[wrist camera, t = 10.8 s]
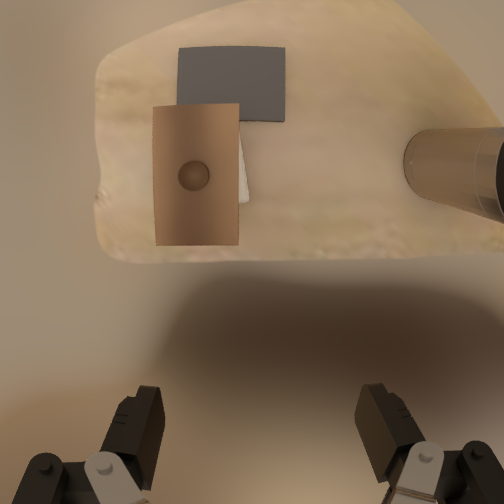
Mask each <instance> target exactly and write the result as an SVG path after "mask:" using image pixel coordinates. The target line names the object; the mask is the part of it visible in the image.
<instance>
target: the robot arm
mask: <svg viewBox="0 0 504 504" xmlns="http://www.w3.org/2000/svg"><path fill="white" fill-rule="evenodd" d="M404 170H405V174H406V178H407V180H408V182H409V184H410V186H411V187H412V189H413V190H414V191H415V192H416V193H417V194H418V195H420V196H421V197H423V198H426V199H429V200H433V201H436V202H439V203H442V204H446V205H449V206H452V207H455V208H458V209H462V210H465V211H468V212H471V213H474V214H477V215H480V216H483V217H486V218H489V219H492V220H494V221H498V222H501V223H503V224H504V127H499V128H462V129H442V130H428V131H423V132H420V133H419V134H417V135H416V136H414V138H413V139H412V140H411V141H410V143H409V144H408V146H407V149H406V152H405V157H404ZM355 423H356V426H357V429H358V431H359V434H360V437H361V439H362V442H363V444H364V447H365V449H366V452H367V455H368V457H369V460H370V462H371V465H372V468H373V470H374V473H375V475H376V478H377V481H378V483H381V482H385V481H388V482H389V485H390V486H389V488H388V490H387V492H386V494H385V497H384V499H383V501H382V503H381V504H436V499H437V502H438V504H504V470H503V468H502V466H501V464H500V463H499V461H498V460H497V458H496V456H495V455H494V453H493V451H492V450H491V448H490V447H489V446H488V445H487V444H485V443H484V442H481V441H471V442H469V443H467V444H466V445H465V446H464V448H463V449H462V450H460V451H443V450H442V449H441V447H440V446H438V445H437V444H435V443H433V442H429V441H426V440H425V438H424V436H423V434H422V433H421V431H420V429H419V427H418V426H417V424H416V422H415V421H414V419H413V417H411V414H410V412H409V410H407V407H406V405H405V404H404V402H403V400H402V399H401V398H399V397H398V396H397V395H396V394H394V393H388V392H387V390H386V388H385V387H384V385H383V384H382V383H372V384H365V385H363V386H362V389H361V392H360V396H359V399H358V403H357V406H356V410H355ZM164 428H165V412H164V407H163V402H162V397H161V391H160V388H159V387H154V386H142V385H141V386H140V387H139V389H138V391H137V394H136V397H129V396H127V398H125V399H124V400H123V401H122V402H121V403H120V404H119V405H118V408H117V410H116V413H115V416H114V417H113V420H112V423H111V425H110V427H109V430H108V432H107V434H106V438H105V440H104V442H103V444H102V447H101V450H100V451H99V452H97V453H95V454H93V455H91V456H90V457H89V458H88V459H87V460H86V461H84V462H67V463H62V461H61V460H60V458H59V457H58V456H56V455H54V454H51V453H41V454H38V455H36V456H34V457H33V458H32V459H31V461H30V462H29V464H28V467H27V469H26V471H25V473H24V476H23V478H22V480H21V482H20V485H19V487H18V490H17V492H16V495H15V497H14V499H13V502H12V504H150V503H149V502H148V501H147V500H146V499H145V498H144V496H143V494H142V493H141V491H142V489H143V490H149V491H150V490H151V486H152V481H153V477H154V472H155V468H156V463H157V459H158V454H159V450H160V445H161V441H162V437H163V432H164Z"/></svg>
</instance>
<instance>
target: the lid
mask: <svg viewBox="0 0 504 504" xmlns="http://www.w3.org/2000/svg"><path fill="white" fill-rule="evenodd" d="M153 193H154V217H155V235H156V246H192V245H238V240H239V103H228V104H191V105H173V106H159V107H153Z"/></svg>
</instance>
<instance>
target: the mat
mask: <svg viewBox="0 0 504 504" xmlns="http://www.w3.org/2000/svg"><path fill="white" fill-rule="evenodd" d="M228 103H239V121H272V122H284V121H285V48H281V47H259V46H211V47H190V48H179V58H178V80H177V105H191V104H228Z"/></svg>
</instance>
